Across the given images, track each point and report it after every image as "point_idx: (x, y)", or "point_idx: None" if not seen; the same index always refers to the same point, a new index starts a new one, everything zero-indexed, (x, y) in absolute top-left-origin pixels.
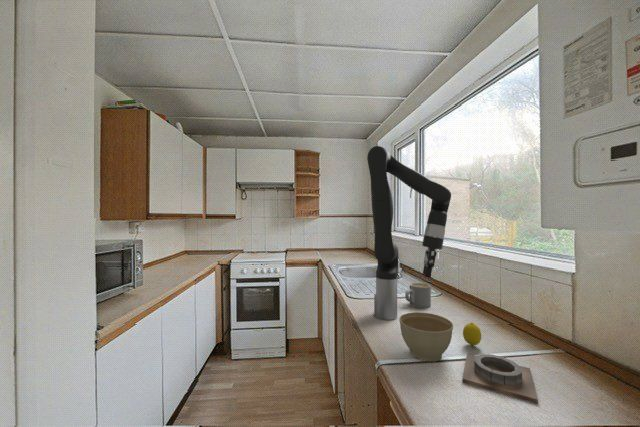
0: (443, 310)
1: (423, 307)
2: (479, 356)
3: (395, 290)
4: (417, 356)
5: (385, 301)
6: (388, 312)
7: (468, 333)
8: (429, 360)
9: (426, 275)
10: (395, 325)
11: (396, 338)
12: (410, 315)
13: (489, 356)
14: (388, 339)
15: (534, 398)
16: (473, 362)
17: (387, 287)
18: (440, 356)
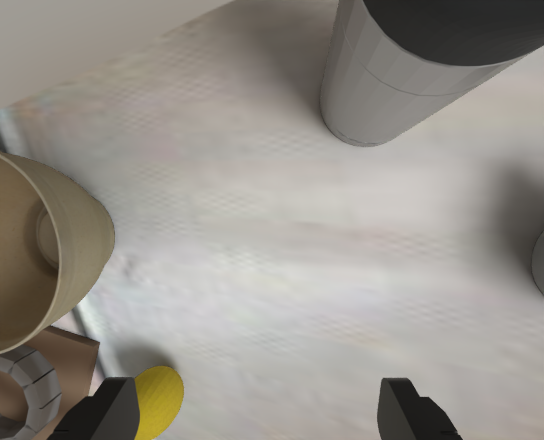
0: (519, 359)
1: (535, 273)
2: (19, 374)
3: (373, 96)
4: (34, 210)
5: (327, 59)
6: (323, 100)
7: None
8: (33, 240)
9: (86, 402)
10: (270, 142)
11: (155, 149)
12: (46, 193)
13: (28, 400)
14: (139, 123)
15: None
16: (49, 349)
17: (340, 19)
18: (46, 272)
